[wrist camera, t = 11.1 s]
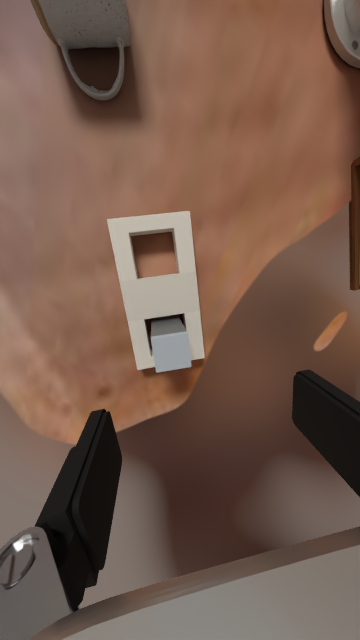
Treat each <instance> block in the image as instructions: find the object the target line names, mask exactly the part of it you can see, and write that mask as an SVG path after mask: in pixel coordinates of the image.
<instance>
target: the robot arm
mask: <svg viewBox="0 0 360 640" xmlns="http://www.w3.org/2000/svg"><path fill="white" fill-rule="evenodd" d="M324 14H325V23H326V28H327V32H328V35H329V38H330V41H331V43H332V45H333V47H334V49H335V51H336V52H337V54H338V55H339V56H340V57H341V58H342V59H343V60H344V61H345V62H347V63H348V64H349V65H351V66H354V67H356V68H360V0H324ZM292 419H293V422H294V424H295V425H296V427H297V428H298V429H299V430H300V431H301V432H302V433H303V435H304V436H305V437H306V438H307V439H308V440H309V441H310V442H311V443H312V445H313V446H314V447H315V448H316V449H317V450H318V451H319V452H320V453H321V455H322V456H323V457H324V458H325V459H326V460H327V461H328V462H329V463H330V464H331V466H332V467H333V468H334V469H335V470H336V471H337V472H338V474H339V475H340V476H341V477H342V478H343V479H344V480H345V481H346V482H347V484H348V485H349V486H350V487H351V488H352V489H353V490H354V491H355V492H356V494H357V495H358V496H359V497H360V402H359V401H357V400H356V399H354V398H353V397H351V396H350V395H348V394H346V393H345V392H343V391H342V390H340V389H338V388H337V387H336V386H334V385H333V384H331V383H330V382H328V381H326V380H325V379H323V378H322V377H320V376H319V375H317V374H316V373H314V372H313V371H311V370H304V371H299V372H297V373H296V375H295V376H294V382H293V412H292ZM121 465H122V455H121V451H120V447H119V443H118V440H117V436H116V432H115V429H114V425H113V421H112V418H111V414H110V412H109V411H108V412H106V410H105V409H102V410H96V411H92V412H91V413H90V416H89V418H88V420H87V422H86V425H85V427H84V429H83V431H82V434H81V436H80V438H79V440H78V443H77V445H76V447H73V448H72V449H71V450H70V452H69V454H68V456H67V458H66V460H65V462H64V464H63V466H62V469H61V471H60V473H59V475H58V477H57V479H56V482H55V484H54V486H53V488H52V490H51V492H50V494H49V497H48V499H47V501H46V503H45V505H44V507H43V510H42V512H41V514H40V516H39V518H38V520H37V522H36V524H35V527H30V528H27V529H25V530H23V531H21V532H19V533H18V534H17V535H15V536H14V537H12V538H11V539H10V540H9V541H8V542H7V543H6V544H5V545H4V546H3V547H2V548H1V549H0V640H360V527H356V528H353V529H349V530H345V531H342V532H338V533H334V534H331V535H327V536H323V537H319V538H316V539H312V540H308V541H305V542H301V543H298V544H294V545H290V546H287V547H283V548H279V549H276V550H272V551H269V552H265V553H261V554H258V555H254V556H251V557H247V558H243V559H240V560H236V561H233V562H230V563H226V564H222V565H219V566H215V567H212V568H209V569H205V570H201V571H197V572H194V573H190V574H187V575H184V576H180V577H177V578H173V579H169V580H166V581H163V582H159V583H156V584H153V585H149V586H146V587H143V588H140V589H137V590H133V591H130V592H127V593H124V594H120V595H117V596H114V597H111V598H108V599H105V600H102V601H100V602H97V603H95V604H92V605H89V606H87V607H84V608H82V609H80V607H79V605H80V603H81V602H82V600H83V596H84V591H85V588H87V587H91V586H95V585H96V583H97V578H98V573H99V570H102V569H103V568H104V565H105V560H106V554H107V548H108V542H109V536H110V530H111V525H112V519H113V512H114V507H115V500H116V495H117V489H118V483H119V477H120V471H121Z"/></svg>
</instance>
